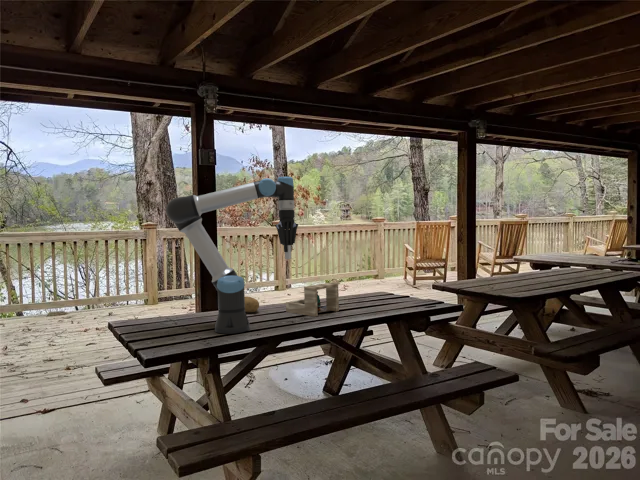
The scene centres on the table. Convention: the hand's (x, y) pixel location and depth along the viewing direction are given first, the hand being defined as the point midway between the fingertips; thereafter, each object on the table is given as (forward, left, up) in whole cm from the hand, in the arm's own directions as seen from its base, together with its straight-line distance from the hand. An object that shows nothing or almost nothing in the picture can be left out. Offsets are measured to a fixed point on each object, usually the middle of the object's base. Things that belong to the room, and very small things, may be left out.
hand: (288, 258), depth 224 cm
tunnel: (+21, +5, -29) cm, 37 cm away
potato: (0, +31, -30) cm, 43 cm away
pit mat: (+35, +5, -29) cm, 46 cm away
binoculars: (+21, +6, -30) cm, 37 cm away
